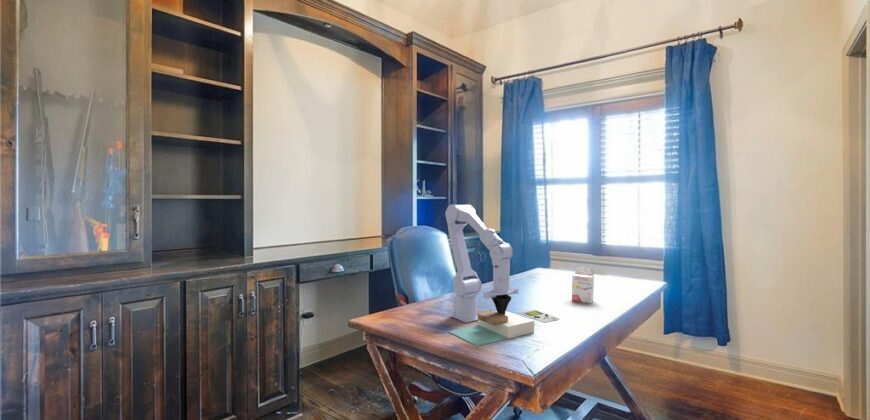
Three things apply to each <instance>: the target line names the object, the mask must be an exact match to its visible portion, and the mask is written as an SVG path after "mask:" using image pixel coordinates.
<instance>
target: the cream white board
mask: <svg viewBox="0 0 870 420" xmlns="http://www.w3.org/2000/svg"><path fill="white" fill-rule="evenodd" d="M494 311H495V310H494ZM495 312H497V310H496V311H495ZM505 315H506V316H508V322H506V323H503V324H499V325H496V326H494V325H491V324H489V323H486V322H484V321H481V320H479V319H478V320H477V325H479V326H482V327H484V328H486V329H489V330H491V331H494V332H496V333H498V334H501V335H503V336H505V337H508V339H512V338H516V337H520V336H525V335H529V334H532V333H535V319H532V318H530V319H529V317H526V316H525V317H524V316H523V315H518V314H516V313H513V312H510V311H507V310H506V312H505ZM508 339H507V340H508Z"/></svg>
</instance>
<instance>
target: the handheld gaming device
mask: <svg viewBox="0 0 870 420" xmlns="http://www.w3.org/2000/svg"><path fill="white" fill-rule="evenodd" d="M518 314H520V315H521V316H525V317H527V318H530V319H532V320H534V321H535V320H536V321H538V322H540V323H551V322H554V321H559V320H560V318H559V317H556V316H554V315H552V314H548V313H545V312H543V311H540V310H538V309H528V310H523V311H518Z"/></svg>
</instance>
